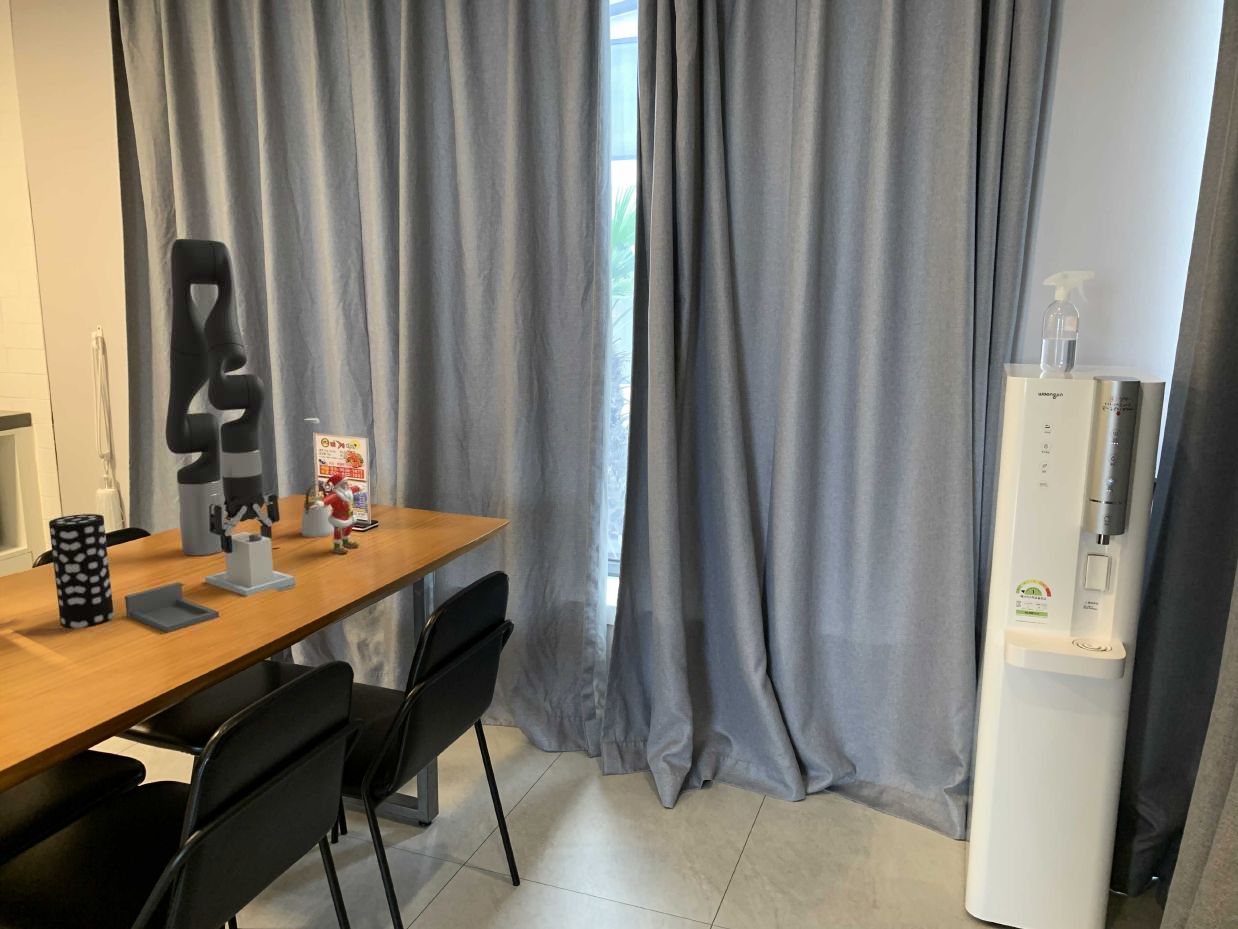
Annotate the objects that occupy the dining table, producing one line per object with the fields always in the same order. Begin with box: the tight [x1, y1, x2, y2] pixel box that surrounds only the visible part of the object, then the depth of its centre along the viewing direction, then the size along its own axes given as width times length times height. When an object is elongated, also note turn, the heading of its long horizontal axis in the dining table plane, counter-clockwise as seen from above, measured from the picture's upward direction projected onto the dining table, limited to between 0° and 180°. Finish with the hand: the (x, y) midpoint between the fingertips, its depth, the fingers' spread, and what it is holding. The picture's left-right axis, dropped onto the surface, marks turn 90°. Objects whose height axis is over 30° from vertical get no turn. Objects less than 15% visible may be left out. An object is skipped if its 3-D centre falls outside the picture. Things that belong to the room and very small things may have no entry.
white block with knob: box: [224, 531, 274, 588], centre depth 176 cm, size 9×5×11 cm, turn 56°
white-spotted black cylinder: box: [48, 513, 115, 629], centre depth 153 cm, size 8×8×20 cm
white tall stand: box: [300, 417, 334, 538], centre depth 217 cm, size 8×8×30 cm
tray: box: [204, 569, 296, 597], centre depth 177 cm, size 15×11×2 cm
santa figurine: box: [310, 473, 366, 555], centre depth 203 cm, size 25×6×19 cm, turn 169°
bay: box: [124, 581, 220, 634], centre depth 156 cm, size 14×10×5 cm
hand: (247, 547), depth 176 cm, fingers open, 8 cm apart
